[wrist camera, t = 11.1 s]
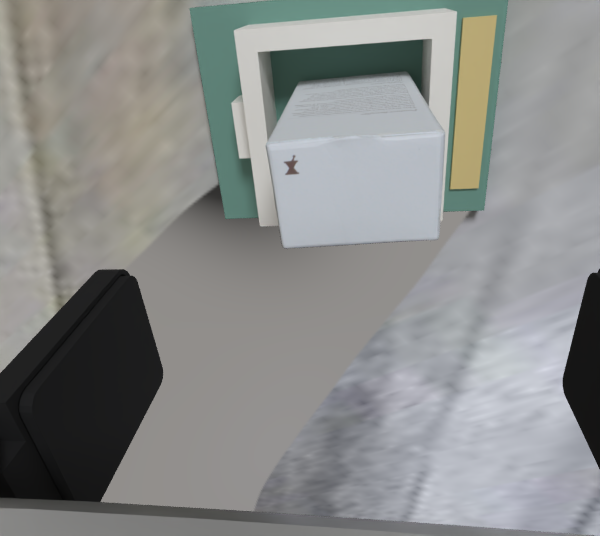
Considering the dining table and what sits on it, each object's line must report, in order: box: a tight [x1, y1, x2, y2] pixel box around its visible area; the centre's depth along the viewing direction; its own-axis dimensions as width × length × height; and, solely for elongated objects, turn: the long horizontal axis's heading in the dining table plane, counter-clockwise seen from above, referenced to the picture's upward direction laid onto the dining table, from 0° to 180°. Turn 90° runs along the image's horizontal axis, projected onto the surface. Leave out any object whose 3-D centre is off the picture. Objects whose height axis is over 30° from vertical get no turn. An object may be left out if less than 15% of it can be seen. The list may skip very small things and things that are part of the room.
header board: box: [190, 0, 508, 226], centre depth 26 cm, size 16×12×4 cm
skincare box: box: [266, 71, 445, 249], centre depth 22 cm, size 6×4×12 cm
